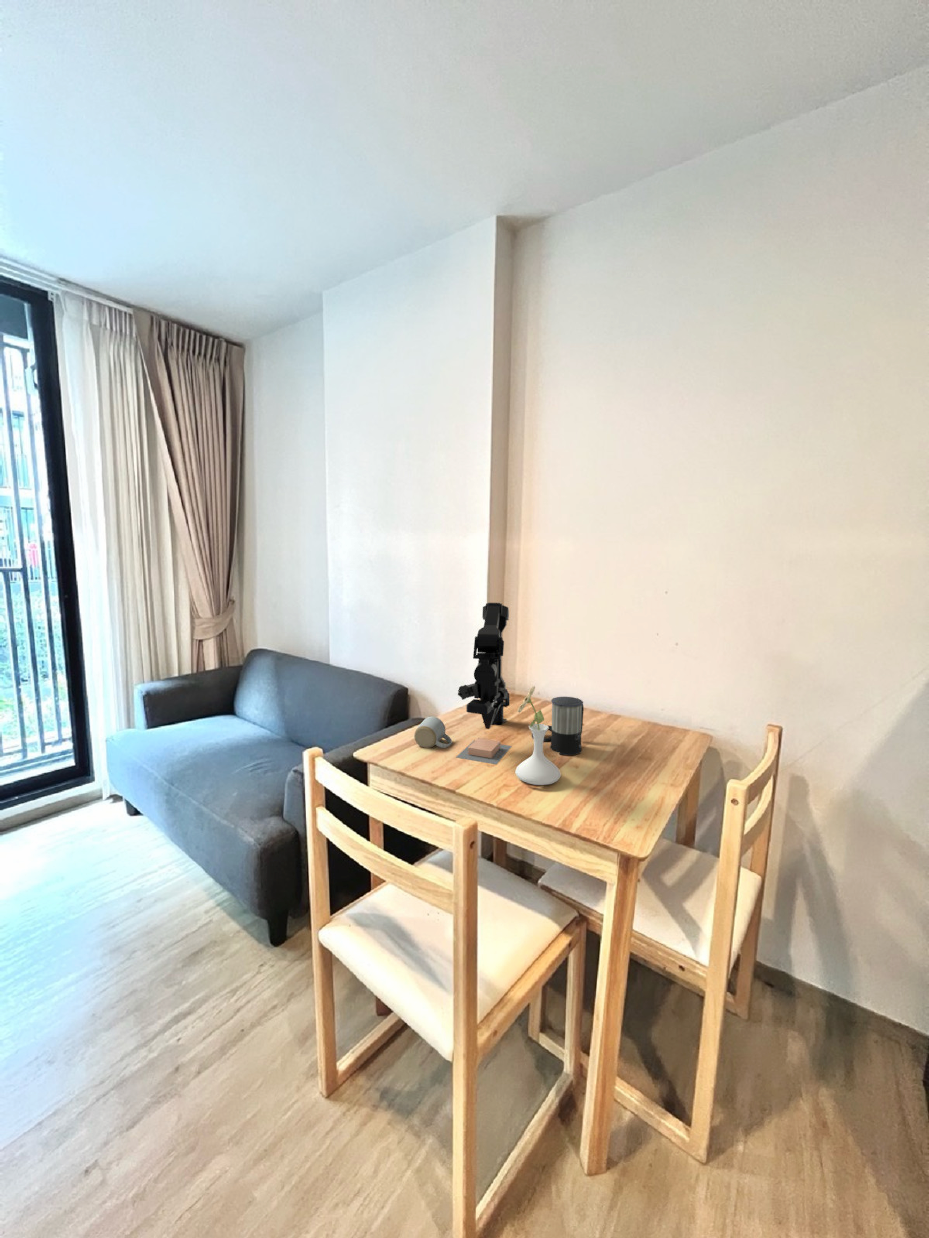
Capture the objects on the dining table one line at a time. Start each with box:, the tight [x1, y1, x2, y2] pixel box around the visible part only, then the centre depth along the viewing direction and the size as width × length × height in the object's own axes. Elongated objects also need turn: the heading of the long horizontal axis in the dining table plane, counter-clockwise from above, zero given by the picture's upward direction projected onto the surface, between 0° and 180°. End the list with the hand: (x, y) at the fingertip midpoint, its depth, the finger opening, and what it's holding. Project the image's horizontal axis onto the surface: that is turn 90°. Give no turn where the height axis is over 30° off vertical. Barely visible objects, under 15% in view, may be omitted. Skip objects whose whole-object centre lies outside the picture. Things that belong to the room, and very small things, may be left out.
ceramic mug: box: [414, 715, 453, 749], centre depth 147 cm, size 11×8×8 cm
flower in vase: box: [514, 685, 562, 786], centre depth 123 cm, size 13×11×25 cm
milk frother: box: [531, 696, 585, 756], centre depth 146 cm, size 14×16×15 cm
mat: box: [455, 739, 513, 765], centre depth 141 cm, size 14×12×1 cm
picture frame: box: [468, 737, 501, 758], centre depth 141 cm, size 2×7×8 cm
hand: (487, 728), depth 143 cm, fingers closed
